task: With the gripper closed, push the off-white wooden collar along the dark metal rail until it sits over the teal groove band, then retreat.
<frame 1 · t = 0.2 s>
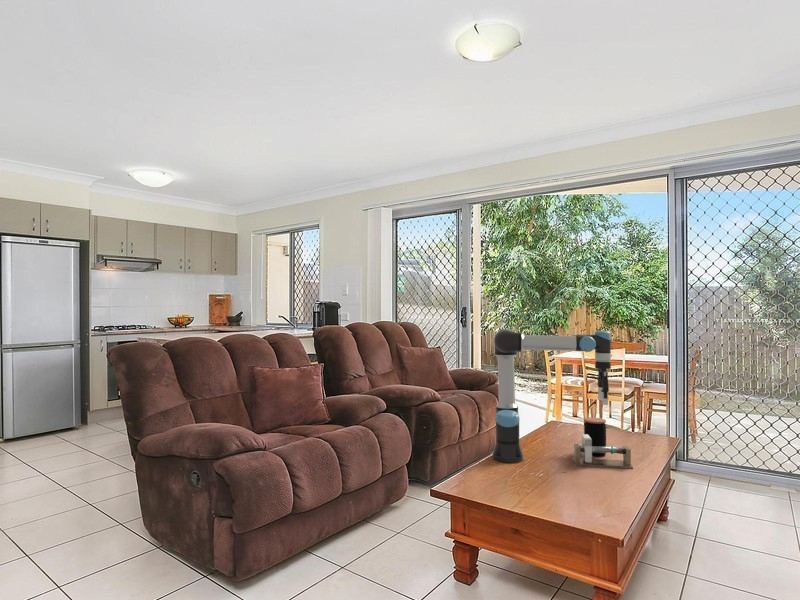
hand: (603, 402, 262), 28 cm above the table, fingers open, 13 cm apart
coffee jar: (595, 454, 265), on the table
collar: (586, 447, 250), point 7 cm above the table, slide at -7.0 cm
rail: (601, 464, 248), on the table
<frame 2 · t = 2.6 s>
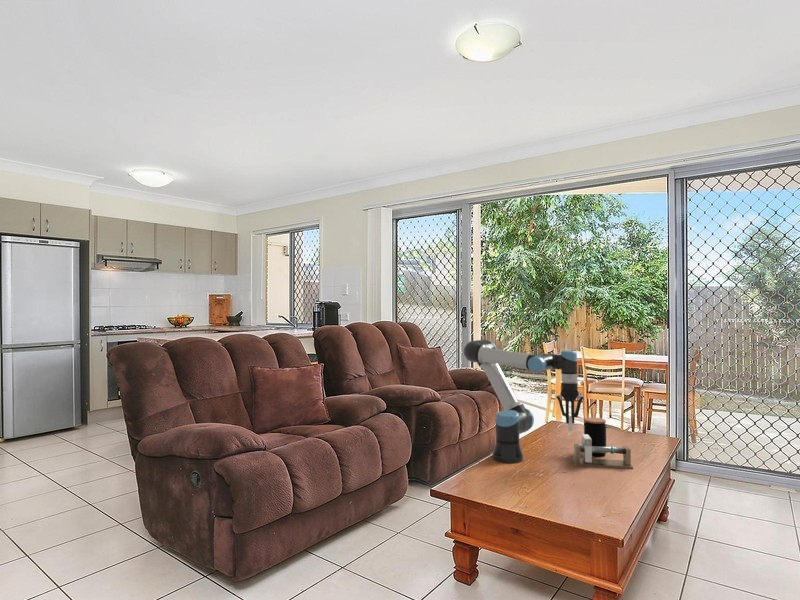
hand: (570, 430, 251), 16 cm above the table, fingers closed
nothing on the table moved.
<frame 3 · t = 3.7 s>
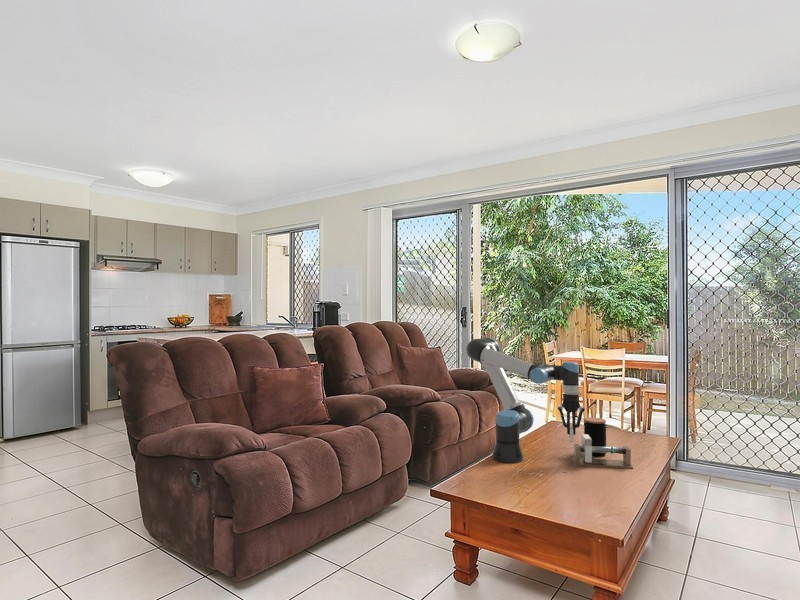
hand: (571, 441, 251), 10 cm above the table, fingers closed
nothing on the table moved.
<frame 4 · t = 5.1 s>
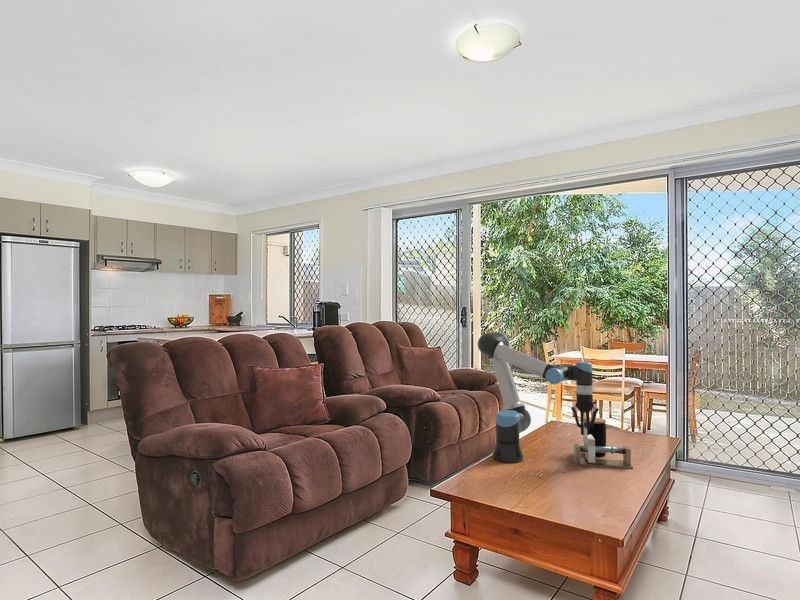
hand: (585, 441, 250), 11 cm above the table, fingers closed
collar: (589, 448, 249), point 7 cm above the table, slide at -5.5 cm, touching gripper
everything else where it was.
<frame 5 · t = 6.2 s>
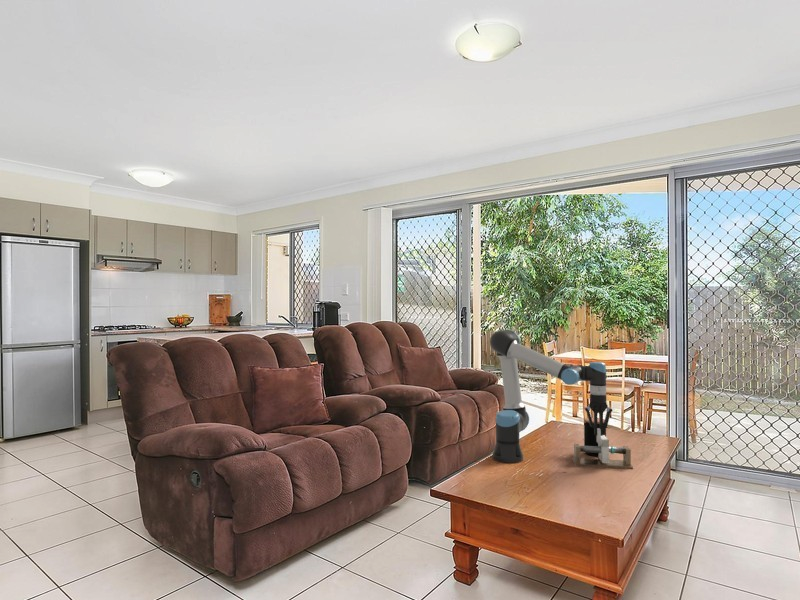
hand: (598, 442, 248), 11 cm above the table, fingers closed
collar: (603, 448, 248), point 7 cm above the table, slide at 0.8 cm, touching gripper
everything else where it was.
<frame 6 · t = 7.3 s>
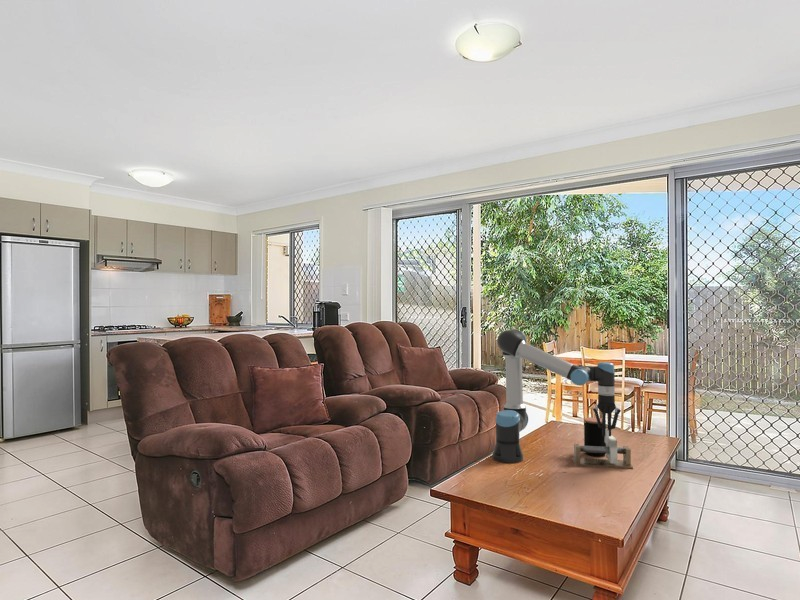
hand: (606, 442, 248), 10 cm above the table, fingers closed
collar: (611, 449, 247), point 7 cm above the table, slide at 4.5 cm, touching gripper
everything else where it was.
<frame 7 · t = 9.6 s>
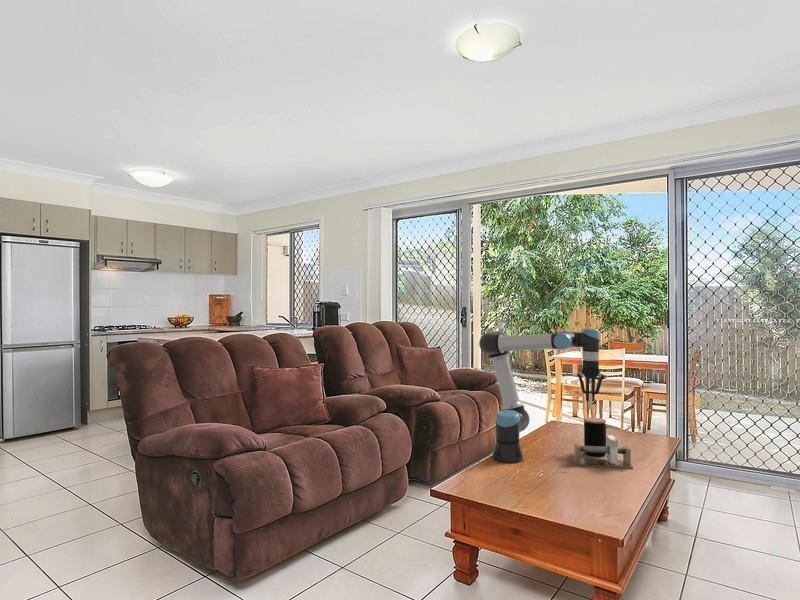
hand: (590, 407, 250), 27 cm above the table, fingers closed
collar: (611, 449, 247), point 7 cm above the table, slide at 4.7 cm
everything else where it was.
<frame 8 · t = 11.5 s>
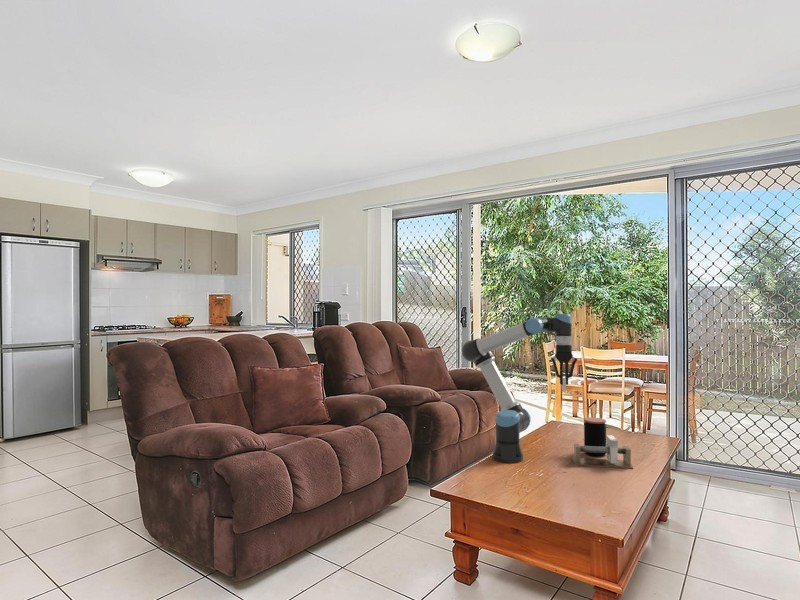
hand: (564, 391, 256), 34 cm above the table, fingers closed
nothing on the table moved.
at the end: collar slide at 4.7 cm; collar touching nothing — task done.
